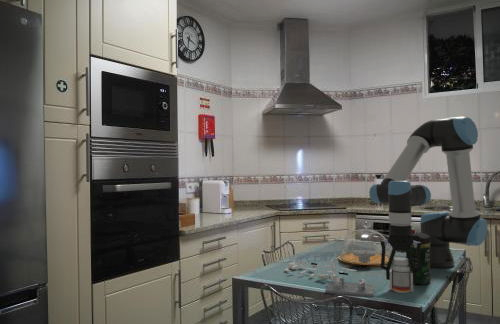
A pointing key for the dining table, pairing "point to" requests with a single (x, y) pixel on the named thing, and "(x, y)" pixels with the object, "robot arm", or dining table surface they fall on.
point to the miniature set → (321, 276)
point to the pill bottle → (401, 275)
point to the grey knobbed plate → (351, 288)
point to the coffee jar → (423, 275)
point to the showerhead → (364, 255)
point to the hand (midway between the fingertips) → (401, 289)
